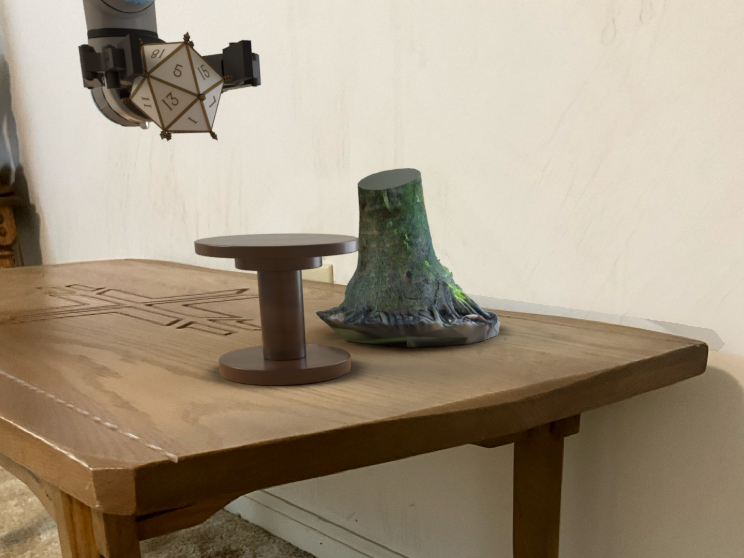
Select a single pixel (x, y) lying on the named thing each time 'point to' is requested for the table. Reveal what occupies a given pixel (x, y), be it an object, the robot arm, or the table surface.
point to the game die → (177, 88)
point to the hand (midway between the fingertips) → (193, 56)
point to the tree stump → (403, 275)
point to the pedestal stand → (281, 307)
